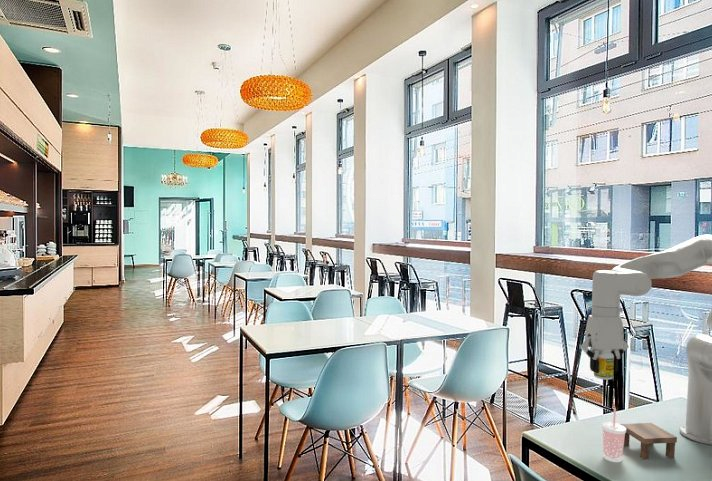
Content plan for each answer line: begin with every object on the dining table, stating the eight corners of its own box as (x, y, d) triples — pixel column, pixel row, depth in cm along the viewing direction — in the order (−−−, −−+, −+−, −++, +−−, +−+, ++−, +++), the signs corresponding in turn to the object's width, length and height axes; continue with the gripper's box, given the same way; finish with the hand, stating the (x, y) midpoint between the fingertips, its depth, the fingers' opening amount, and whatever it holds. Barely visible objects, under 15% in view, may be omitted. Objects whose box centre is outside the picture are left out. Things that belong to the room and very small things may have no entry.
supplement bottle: (600, 373, 157) (601, 342, 157) (617, 378, 153) (618, 346, 152) (589, 376, 154) (590, 345, 154) (606, 381, 150) (607, 349, 149)
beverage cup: (605, 451, 146) (608, 403, 145) (628, 458, 141) (630, 409, 141) (596, 457, 142) (598, 408, 141) (619, 465, 137) (622, 414, 137)
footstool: (650, 442, 152) (651, 422, 152) (675, 458, 143) (676, 437, 142) (619, 443, 151) (620, 424, 151) (643, 459, 141) (644, 438, 141)
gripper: (623, 308, 157) (621, 366, 158) (571, 310, 155) (570, 368, 156) (640, 313, 150) (638, 374, 151) (586, 314, 147) (584, 376, 148)
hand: (603, 370), depth 153 cm, fingers closed on supplement bottle, 5 cm apart
